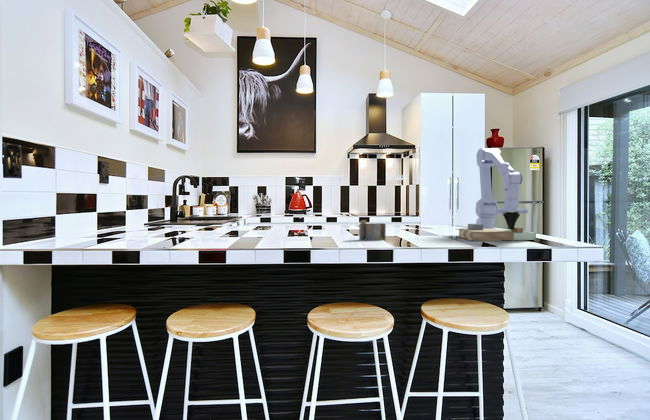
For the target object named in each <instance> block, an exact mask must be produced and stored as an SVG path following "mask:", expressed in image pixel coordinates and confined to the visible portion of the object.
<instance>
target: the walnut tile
mask: <svg viewBox="0 0 650 420" xmlns="http://www.w3.org/2000/svg"><path fill="white" fill-rule="evenodd" d="M510 230H511V231H512V232H514V233H523V231H524V228H523V227H520V226H519V227H518V226H514V229H510Z"/></svg>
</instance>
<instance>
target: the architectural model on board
mask: <svg viewBox="0 0 650 420" xmlns="http://www.w3.org/2000/svg"><path fill="white" fill-rule="evenodd" d="M386 225H387V224H386V223H384V222H383V223H379V222H378V223H367V219H364V220H363V219H362V220H360V222H359V226H358V227H359V229H358V230H359V232H358V233H359V235H358V236H359V237H358V238H359V240H360V241H386V238H387V237H386V235H387V234H386ZM364 239H366V240H364Z"/></svg>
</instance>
